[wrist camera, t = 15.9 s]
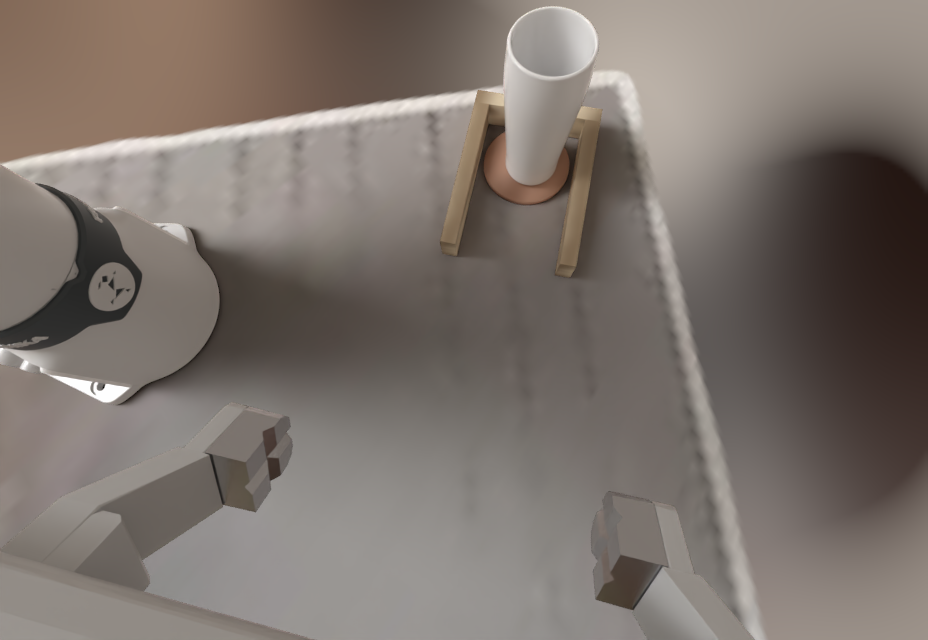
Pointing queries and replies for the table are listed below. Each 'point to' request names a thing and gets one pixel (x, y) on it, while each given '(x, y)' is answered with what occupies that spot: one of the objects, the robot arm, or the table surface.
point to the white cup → (545, 88)
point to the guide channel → (500, 181)
